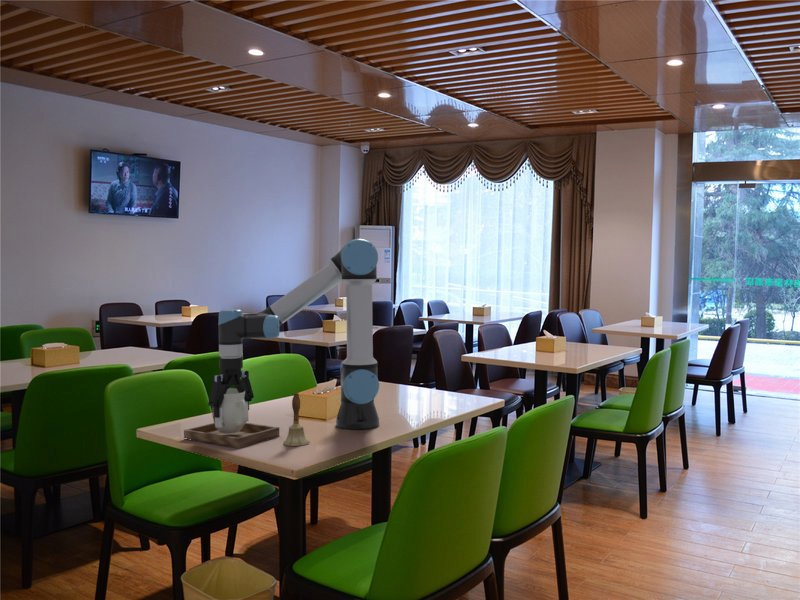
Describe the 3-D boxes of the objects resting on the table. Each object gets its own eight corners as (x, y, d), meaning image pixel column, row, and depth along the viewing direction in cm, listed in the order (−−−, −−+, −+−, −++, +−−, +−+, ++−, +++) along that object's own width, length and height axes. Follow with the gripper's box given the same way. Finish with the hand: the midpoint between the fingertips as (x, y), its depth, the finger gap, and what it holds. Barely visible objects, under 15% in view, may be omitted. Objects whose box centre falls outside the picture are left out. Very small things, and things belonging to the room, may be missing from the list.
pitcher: (232, 438, 231) (231, 395, 230) (202, 430, 243) (201, 389, 243) (261, 433, 239) (261, 390, 238) (230, 425, 251) (229, 385, 251)
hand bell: (284, 440, 237) (283, 391, 237) (310, 440, 238) (309, 390, 237) (282, 446, 229) (281, 395, 228) (309, 446, 230) (308, 395, 229)
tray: (279, 436, 243) (279, 427, 243) (238, 448, 227) (237, 438, 227) (226, 428, 256) (226, 419, 256) (184, 439, 240) (183, 430, 240)
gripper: (247, 352, 252) (248, 416, 253) (195, 360, 232) (196, 429, 233) (264, 354, 248) (265, 418, 249) (212, 361, 228) (213, 432, 229)
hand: (232, 424), depth 241 cm, fingers closed on pitcher, 11 cm apart
